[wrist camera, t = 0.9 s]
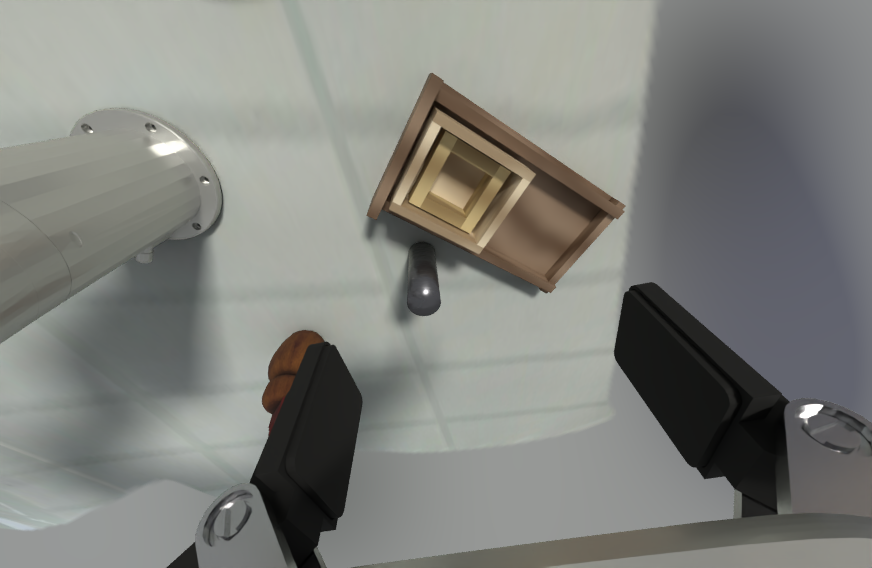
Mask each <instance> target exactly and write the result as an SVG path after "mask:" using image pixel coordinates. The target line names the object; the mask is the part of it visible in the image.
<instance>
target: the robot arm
mask: <svg viewBox="0 0 872 568" xmlns="http://www.w3.org/2000/svg"><path fill="white" fill-rule="evenodd" d="M221 205H222V194H221V189H220V185H219V181H218V178H217V176H216V174H215V172H214V169H213V168H212V166H211V164H210V163H209V161H208V160H207V158H206V157H205V155H204V154H203V153H202V152H201V151H200V150H199V148H198V147H197V146H196V145H195V144H194V143H193V142H192V141H191V140H190V139H189V138H187V137H186V136H185V135H184V134H183V133H182V132H180V131H179V130H177V129H176V128H174V127H173V126H172V125H170V124H168V123H167V122H165V121H163V120H161V119H159V118H157V117H155V116H152V115H150V114H147V113H144V112H141V111H137V110H132V109H126V108H110V109H103V110H96V111H94V112H91V113H89V114H86V115H84V116H83V117H82V118H80V119H79V120H78V121H77V122H76V124H75V125H74V127H73V129H72V130H71V133H70V137H64V138H58V139H52V140H47V141H41V142H35V143H29V144H23V145H18V146H12V147H6V148H0V344H1V343H2V342H4V341H5V340H7V339H8V338H10V337H11V336H13V335H14V334H16V333H17V332H19V331H20V330H22V329H23V328H25V327H26V326H28V325H29V324H31V323H32V322H34V321H35V320H37V319H38V318H40V317H41V316H43V315H44V314H46V313H48V312H49V311H51V310H52V309H54V308H55V307H57V306H58V305H60V304H61V303H63V302H64V301H66V300H68V299H69V298H71V297H72V296H74V295H75V294H77V293H78V292H80V291H82V290H83V289H85V288H86V287H88V286H89V285H91V284H92V283H94V282H96V281H97V280H99V279H100V278H102V277H103V276H105V275H107V274H108V273H110V272H111V271H113V270H114V269H116V268H117V267H119V266H121V265H122V264H124V263H125V262H127V261H128V260H130V259H131V258H133V257H135V259H136V261H138V262H140V263H150V262H152V260H153V252H154V251H153V248H154V247H156V246H157V245H159V244H160V243H162V242H163V241H165V240H166V239H168V240H183V239H188V238H192V237H195V236H197V235H199V234H201V233H203V232H204V231H206V230H207V229H208V228H210V227H211V226H212V225H213V223H214V222H215V221H216V220H217V218H218V216H219V214H220V210H221ZM614 356H615V359H616V361H617V363H618V364H619V366H620V367H621V369H622V370H623V372H624V373H625V374H626V376H627V377H628V379H629V380H630V382H631V383H632V384H633V386H634V387H635V389H636V390H637V392H638V393H639V395H640V396H641V397H642V399H643V400H644V401H645V403H646V404H647V406H648V407H649V409H650V410H651V412H652V413H653V415H654V416H655V418H656V419H657V420H658V422H659V423H660V425H661V426H662V428H663V429H664V431H665V432H666V433H667V435H668V436H669V438H670V439H671V441H672V442H673V443H674V445H675V446H676V448H677V449H678V451H679V452H680V454H681V455H682V456H683V458H684V459H685V461H686V462H687V463H688V464H689V465H690V466H692V467H696V468H697V469H698V470H699V472H700V473H701V475H702V476H703V477H704V479H708V478H716V477H722V476H725V477H726V478H727V480H728V481H729V482H730V483H731V485H732V486H733V487H734V518H733V519H727V520H718V521H708V522H699V523H690V524H683V525H674V526H667V527H658V528H650V529H642V530H634V531H626V532H618V533H610V534H602V535H593V536H586V537H578V538H570V539H562V540H555V541H546V542H539V543H531V544H523V545H515V546H508V547H500V548H493V549H484V550H477V551H469V552H462V553H454V554H447V555H439V556H432V557H424V558H417V559H409V560H402V561H395V562H387V563H379V564H372V565H366V566H360V567H353V568H872V423H871V422H870V421H868V420H867V419H865V418H864V417H863V416H861V415H859V414H857V413H855V412H853V411H851V410H849V409H847V408H845V407H843V406H840V405H837V404H834V403H831V402H827V401H823V400H818V399H809V398H801V399H796V400H793V401H791V402H789V401H788V400H787V399H786V398H785V397H784V396H782V393H781V392H779V391H778V390H777V389H776V388H775V387H774V386H773V385H771V384H770V383H769V382H768V381H767V380H766V379H764V378H763V377H762V376H761V375H760V374H759V373H757V372H756V371H755V370H754V369H753V368H752V367H751V366H750V365H748V364H747V363H746V362H745V361H744V360H743V359H742V358H740V357H739V356H738V355H737V354H736V353H735V352H734V351H732V350H731V349H730V348H729V347H728V346H727V345H725V344H724V343H723V342H722V341H721V340H720V339H719V338H717V337H716V336H715V335H714V334H713V333H712V332H710V331H709V330H708V329H707V328H706V327H705V326H704V325H702V324H701V323H700V322H699V321H698V320H697V319H695V317H693V316H692V315H691V314H690V313H689V312H688V311H686V310H685V309H684V308H683V307H682V306H681V305H679V303H677V302H676V301H675V300H674V299H673V298H672V297H670V296H669V295H668V294H667V293H666V292H665V291H664V290H662V289H661V288H660V287H659V286H658V285H657V284H655V283H652V282H650V283H645V284H640V285H634V286H631V287H630V288H629V291H627V292H625V294H624V298H623V303H622V309H621V315H620V320H619V326H618V332H617V338H616V343H615V349H614ZM361 409H362V396H361V393H360V391H359V389H358V388H357V386H356V384H355V382H354V380H353V378H352V376H351V374H350V373H349V371H348V369H347V367H346V365H345V363H344V361H343V359H342V357H341V356H340V354H339V352H338V350H337V348H336V346H335V345H330V343H329V342H321V343H316V344H310V345H309V346H308V347H307V349H306V352H305V354H304V357H303V359H302V361H301V364H300V366H299V369H298V371H297V374H296V376H295V378H294V381H293V383H292V386H291V388H290V390H289V391H288V393H287V395H286V396H285V399H284V401H283V404H282V406H281V408H280V411H279V413H278V416H277V418H276V420H275V423H274V425H273V427H272V430H271V432H270V435H269V437H268V439H267V442H266V444H265V447H264V449H263V451H262V454H261V456H260V459H259V461H258V463H257V466H256V468H255V471H254V473H253V475H252V478H251V480H250V483H241V484H238V485H236V486H233V487H231V488H230V489H228V490H227V491H225V492H224V493H222V494H221V495H220V496H219V497H218V498H217V499H216V500H215V501H214V502H213V503H212V504H211V505H210V507H209V508H208V509H207V511H206V512H205V513H204V515H203V517H202V519H201V521H200V523H199V525H198V528H197V532H196V538H195V542H194V543H193V544H192V545H191V546H190V547H189V548H188V549H187V550H185V551H184V552H183V553H182V554H181V555H180V556H179V557H178V558H177V559H176V560H174V561H173V562H172V563H171V564H170V565H169V566H168V567H167V568H327V567H326V565H325V563H324V561H323V558H322V556H321V554H320V552H319V550H318V548H317V546H318V542H319V536H320V532H323V531H331V530H336V525H337V520H338V518H339V517H341V516H342V515H343V512H344V508H345V502H346V496H347V491H348V484H349V479H350V473H351V467H352V462H353V456H354V450H355V444H356V438H357V433H358V427H359V421H360V415H361Z"/></svg>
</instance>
